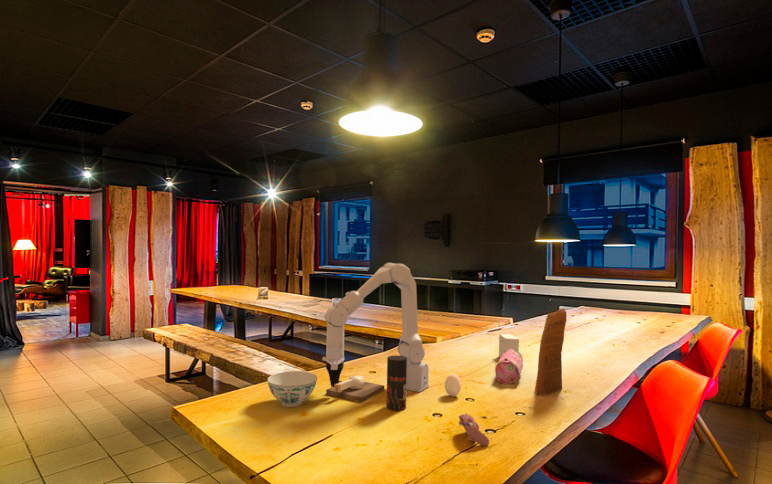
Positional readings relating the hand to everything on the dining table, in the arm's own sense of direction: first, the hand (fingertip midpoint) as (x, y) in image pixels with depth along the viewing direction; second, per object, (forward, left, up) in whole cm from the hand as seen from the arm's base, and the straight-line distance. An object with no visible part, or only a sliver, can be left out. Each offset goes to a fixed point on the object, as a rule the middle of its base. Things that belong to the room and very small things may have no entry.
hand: (334, 386), depth 140 cm
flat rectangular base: (-4, -7, -3) cm, 9 cm away
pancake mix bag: (-60, -45, -3) cm, 75 cm away
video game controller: (-49, +7, -3) cm, 49 cm away
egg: (-33, -21, -3) cm, 39 cm away
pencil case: (-43, -54, -4) cm, 69 cm away
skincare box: (-37, -80, -3) cm, 88 cm away
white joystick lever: (-3, -3, -1) cm, 5 cm away
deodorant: (-22, -2, -3) cm, 22 cm away
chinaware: (+7, +12, -3) cm, 14 cm away
